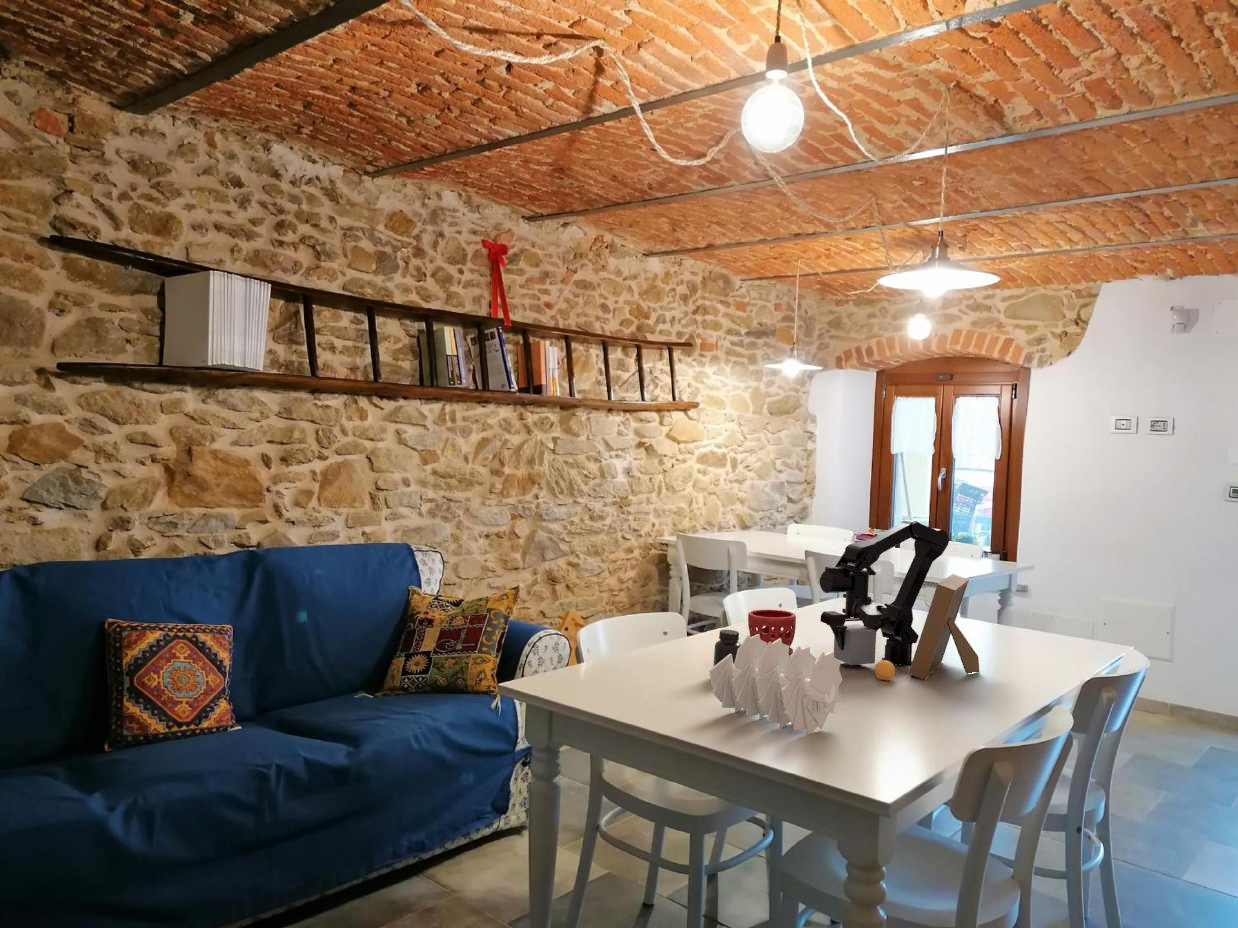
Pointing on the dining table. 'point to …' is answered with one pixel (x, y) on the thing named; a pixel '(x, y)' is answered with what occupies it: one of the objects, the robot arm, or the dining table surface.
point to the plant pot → (773, 620)
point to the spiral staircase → (778, 683)
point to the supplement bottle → (726, 645)
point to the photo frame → (943, 630)
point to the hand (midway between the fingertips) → (854, 649)
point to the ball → (885, 670)
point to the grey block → (857, 645)
